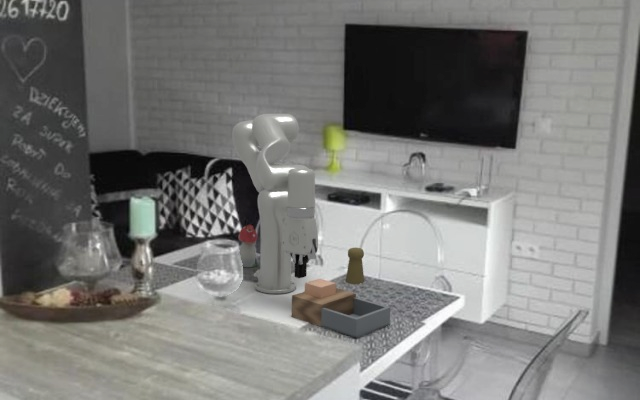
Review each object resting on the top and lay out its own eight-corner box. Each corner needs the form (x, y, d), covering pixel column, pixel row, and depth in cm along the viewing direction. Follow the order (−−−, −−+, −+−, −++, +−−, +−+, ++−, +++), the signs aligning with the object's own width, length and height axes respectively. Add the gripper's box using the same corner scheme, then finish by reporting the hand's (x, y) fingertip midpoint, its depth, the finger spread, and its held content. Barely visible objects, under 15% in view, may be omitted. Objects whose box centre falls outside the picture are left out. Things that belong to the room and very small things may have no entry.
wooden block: (291, 316, 196) (292, 295, 195) (325, 305, 206) (326, 285, 205) (321, 326, 189) (321, 304, 188) (355, 314, 199) (355, 293, 198)
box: (321, 326, 189) (321, 308, 188) (355, 314, 199) (355, 297, 198) (356, 338, 181) (356, 319, 180) (389, 325, 191) (390, 307, 190)
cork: (362, 284, 227) (364, 251, 226) (344, 283, 229) (345, 249, 227) (365, 279, 233) (366, 246, 231) (347, 278, 234) (348, 245, 233)
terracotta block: (304, 293, 197) (305, 282, 197) (319, 288, 202) (319, 278, 201) (320, 298, 193) (321, 287, 193) (335, 293, 198) (335, 283, 197)
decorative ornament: (255, 269, 243) (255, 225, 240) (236, 268, 243) (236, 225, 240) (258, 262, 252) (259, 220, 249) (240, 261, 252) (240, 219, 250)
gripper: (272, 211, 201) (272, 274, 204) (311, 217, 191) (310, 284, 194) (291, 208, 207) (291, 270, 209) (330, 214, 197) (329, 279, 199)
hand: (300, 276), depth 202 cm, fingers closed
